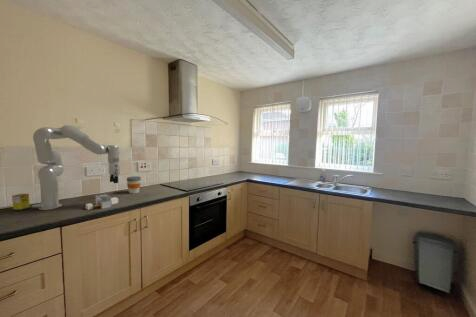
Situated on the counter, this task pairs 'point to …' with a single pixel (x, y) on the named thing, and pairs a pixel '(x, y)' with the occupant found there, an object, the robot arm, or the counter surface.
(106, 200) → the housing
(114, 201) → the wooden dumbbell
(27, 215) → the counter surface
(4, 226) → the counter surface
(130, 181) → the reusable coffee cup
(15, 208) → the supplement box
